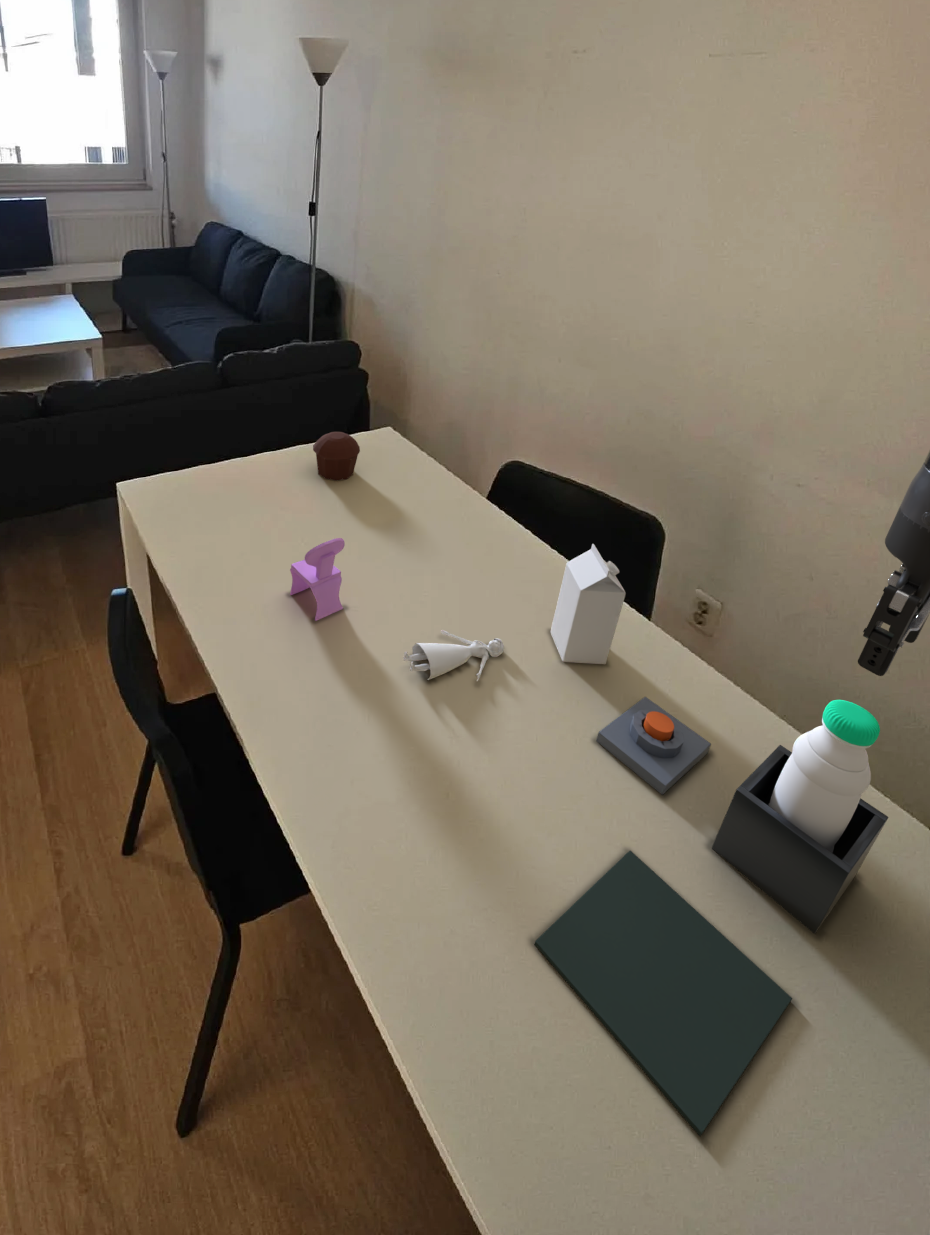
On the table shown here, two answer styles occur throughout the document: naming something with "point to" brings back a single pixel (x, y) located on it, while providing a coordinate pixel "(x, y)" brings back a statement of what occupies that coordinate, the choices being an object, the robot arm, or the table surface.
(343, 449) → the muffin
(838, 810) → the water bottle
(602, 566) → the milk carton
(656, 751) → the control block
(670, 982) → the mat
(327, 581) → the toy chair
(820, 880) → the dark grey storage bin
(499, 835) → the table surface
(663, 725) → the button
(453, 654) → the woman figurine
